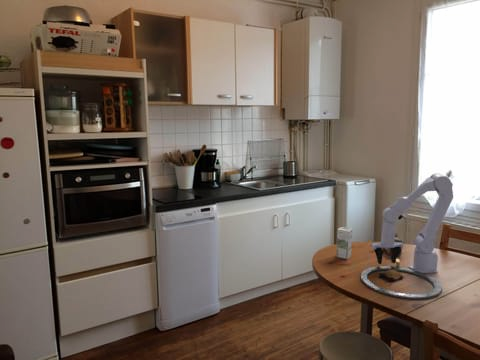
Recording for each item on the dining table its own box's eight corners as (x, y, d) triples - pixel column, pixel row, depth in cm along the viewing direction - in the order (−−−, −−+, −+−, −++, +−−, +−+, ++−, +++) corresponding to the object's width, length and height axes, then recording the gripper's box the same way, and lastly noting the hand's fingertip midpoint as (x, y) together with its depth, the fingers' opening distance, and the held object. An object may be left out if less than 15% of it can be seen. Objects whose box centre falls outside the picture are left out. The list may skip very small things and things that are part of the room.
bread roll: (389, 272, 177) (389, 264, 176) (406, 279, 170) (407, 270, 170) (374, 278, 171) (375, 270, 170) (392, 284, 164) (393, 276, 163)
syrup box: (351, 256, 195) (352, 228, 193) (347, 260, 190) (349, 230, 188) (339, 254, 198) (341, 226, 196) (335, 257, 193) (337, 228, 191)
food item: (380, 246, 210) (382, 229, 209) (396, 247, 210) (397, 229, 208) (387, 255, 197) (389, 236, 195) (404, 256, 196) (405, 237, 195)
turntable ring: (433, 269, 179) (434, 263, 178) (447, 304, 146) (448, 296, 145) (362, 261, 188) (362, 254, 188) (359, 291, 155) (360, 284, 155)
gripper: (397, 231, 184) (395, 259, 187) (369, 232, 182) (367, 260, 184) (406, 235, 178) (404, 264, 180) (377, 237, 175) (375, 266, 177)
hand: (386, 263), depth 181 cm, fingers open, 6 cm apart
